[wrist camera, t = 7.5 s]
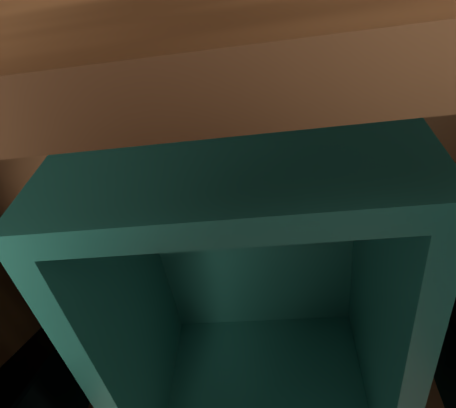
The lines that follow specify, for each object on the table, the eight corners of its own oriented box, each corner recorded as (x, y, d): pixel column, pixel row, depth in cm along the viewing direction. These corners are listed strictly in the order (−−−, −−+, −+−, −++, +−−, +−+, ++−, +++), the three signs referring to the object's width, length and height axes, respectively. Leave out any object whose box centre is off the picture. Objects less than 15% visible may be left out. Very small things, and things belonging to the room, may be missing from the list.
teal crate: (381, 59, 9) (482, 201, 5) (361, 313, 14) (403, 484, 10) (95, 93, 10) (-16, 237, 6) (172, 321, 15) (142, 484, 11)
